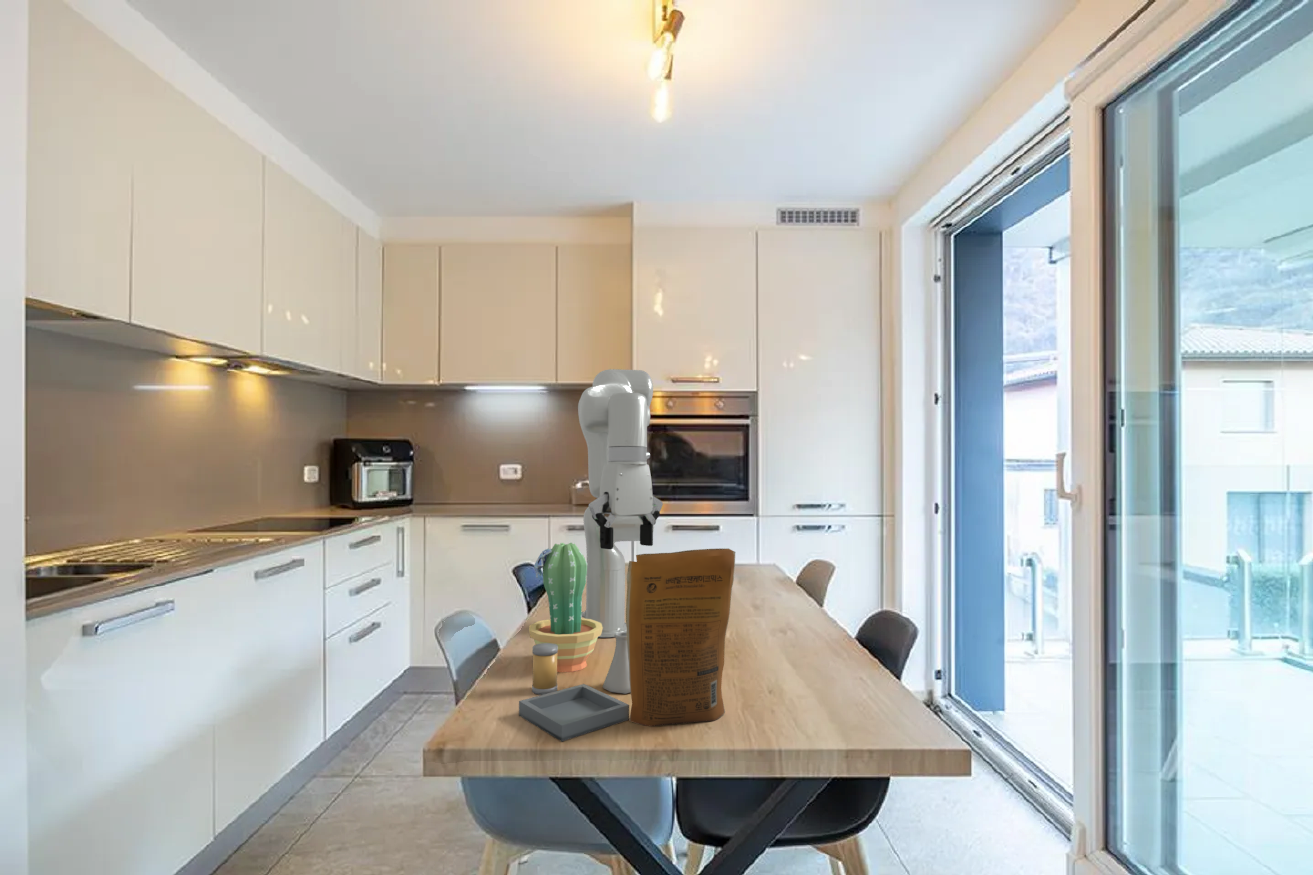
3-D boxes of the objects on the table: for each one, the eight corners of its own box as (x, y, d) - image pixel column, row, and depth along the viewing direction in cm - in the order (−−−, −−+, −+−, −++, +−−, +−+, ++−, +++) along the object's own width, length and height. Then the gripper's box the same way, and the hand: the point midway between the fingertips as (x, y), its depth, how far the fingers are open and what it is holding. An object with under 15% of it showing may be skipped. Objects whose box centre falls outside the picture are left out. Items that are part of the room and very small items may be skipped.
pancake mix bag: (742, 723, 106) (742, 550, 107) (626, 733, 102) (628, 553, 103) (728, 707, 113) (728, 544, 114) (618, 717, 108) (620, 547, 109)
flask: (620, 678, 127) (620, 626, 128) (650, 686, 123) (650, 632, 124) (595, 689, 122) (596, 634, 122) (626, 697, 117) (626, 641, 118)
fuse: (527, 689, 121) (527, 646, 121) (548, 684, 124) (549, 641, 124) (540, 696, 117) (540, 651, 118) (562, 691, 120) (562, 647, 121)
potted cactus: (563, 649, 146) (565, 537, 147) (618, 662, 137) (619, 542, 138) (511, 667, 133) (513, 544, 134) (567, 683, 125) (568, 551, 125)
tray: (518, 715, 109) (519, 700, 109) (583, 697, 117) (583, 683, 117) (561, 741, 99) (561, 725, 99) (629, 719, 107) (629, 704, 107)
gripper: (648, 458, 134) (648, 542, 133) (579, 456, 123) (578, 548, 122) (673, 457, 129) (673, 545, 128) (603, 455, 117) (602, 551, 116)
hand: (627, 546), depth 125 cm, fingers open, 9 cm apart
